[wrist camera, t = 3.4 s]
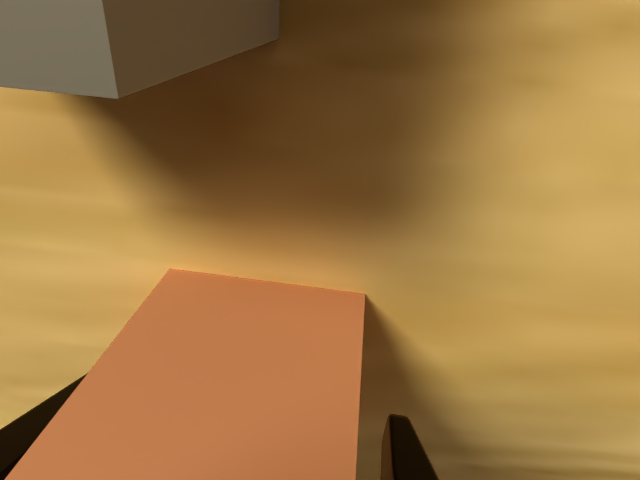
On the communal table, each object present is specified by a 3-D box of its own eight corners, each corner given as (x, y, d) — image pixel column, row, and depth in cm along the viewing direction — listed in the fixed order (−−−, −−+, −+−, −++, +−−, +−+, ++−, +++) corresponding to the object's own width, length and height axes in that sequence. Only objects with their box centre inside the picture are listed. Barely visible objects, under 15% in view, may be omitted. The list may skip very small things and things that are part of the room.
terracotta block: (188, 398, 12) (42, 703, 7) (170, 267, 10) (-71, 575, 4) (345, 423, 12) (318, 761, 6) (364, 293, 9) (346, 656, 4)
